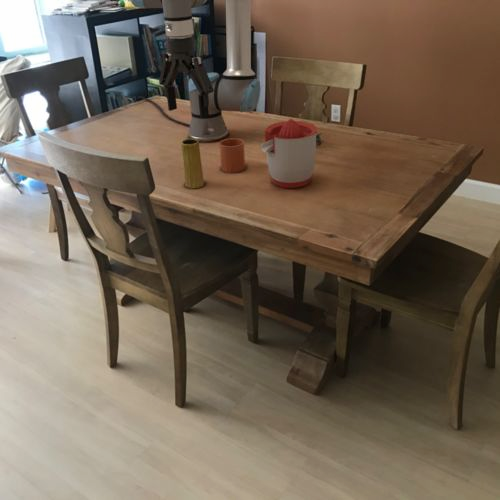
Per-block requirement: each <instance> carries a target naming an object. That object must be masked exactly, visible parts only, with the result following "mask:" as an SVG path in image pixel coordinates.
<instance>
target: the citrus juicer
mask: <svg viewBox="0 0 500 500" xmlns="http://www.w3.org/2000/svg"><path fill="white" fill-rule="evenodd" d="M316 132H317V133H318V128H317V126H316V125H314V124H313V123H310V122H306V121H301V120H294V119H292V118H290V119H288V120H285V121H279V122H275V123H272V124H269V125H268V126H266V127H265V129H264V142H263V143H262V144H261V146H260V150H261V152H262V153H264V154H266V164H267V169H268V173H269V176H270V178H271V181H272V183H273V184H274V185H276V186H277V187H280V188H284V189H294V188H295V189H296V188H301V187H304V186H306V185H308V184H309V183H310V181H311V179H312V176H313V173H314V169H315V165H316V157H317V143H316Z"/></svg>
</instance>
